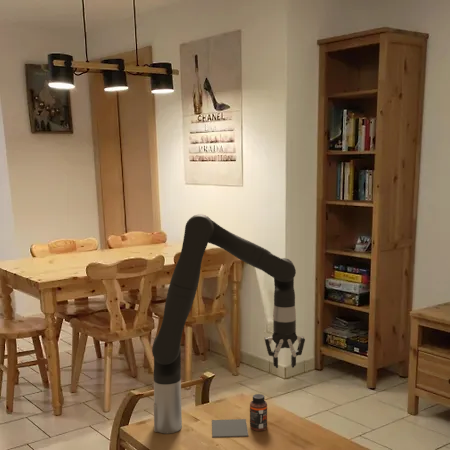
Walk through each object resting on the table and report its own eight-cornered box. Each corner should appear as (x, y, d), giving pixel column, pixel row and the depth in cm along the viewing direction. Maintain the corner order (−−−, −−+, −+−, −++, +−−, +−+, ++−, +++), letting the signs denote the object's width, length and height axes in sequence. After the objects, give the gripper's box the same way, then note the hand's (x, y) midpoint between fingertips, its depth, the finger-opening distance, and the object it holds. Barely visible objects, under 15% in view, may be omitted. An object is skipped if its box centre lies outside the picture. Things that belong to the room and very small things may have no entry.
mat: (212, 437, 186) (212, 436, 186) (211, 421, 198) (211, 420, 198) (248, 436, 187) (248, 435, 187) (245, 420, 198) (245, 419, 198)
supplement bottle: (266, 432, 189) (265, 400, 188) (248, 431, 190) (248, 399, 189) (268, 424, 195) (268, 393, 194) (251, 423, 196) (251, 392, 195)
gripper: (264, 321, 185) (264, 371, 187) (307, 320, 185) (307, 370, 187) (262, 315, 192) (262, 363, 194) (303, 314, 193) (303, 362, 195)
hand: (284, 366), depth 191 cm, fingers open, 5 cm apart
